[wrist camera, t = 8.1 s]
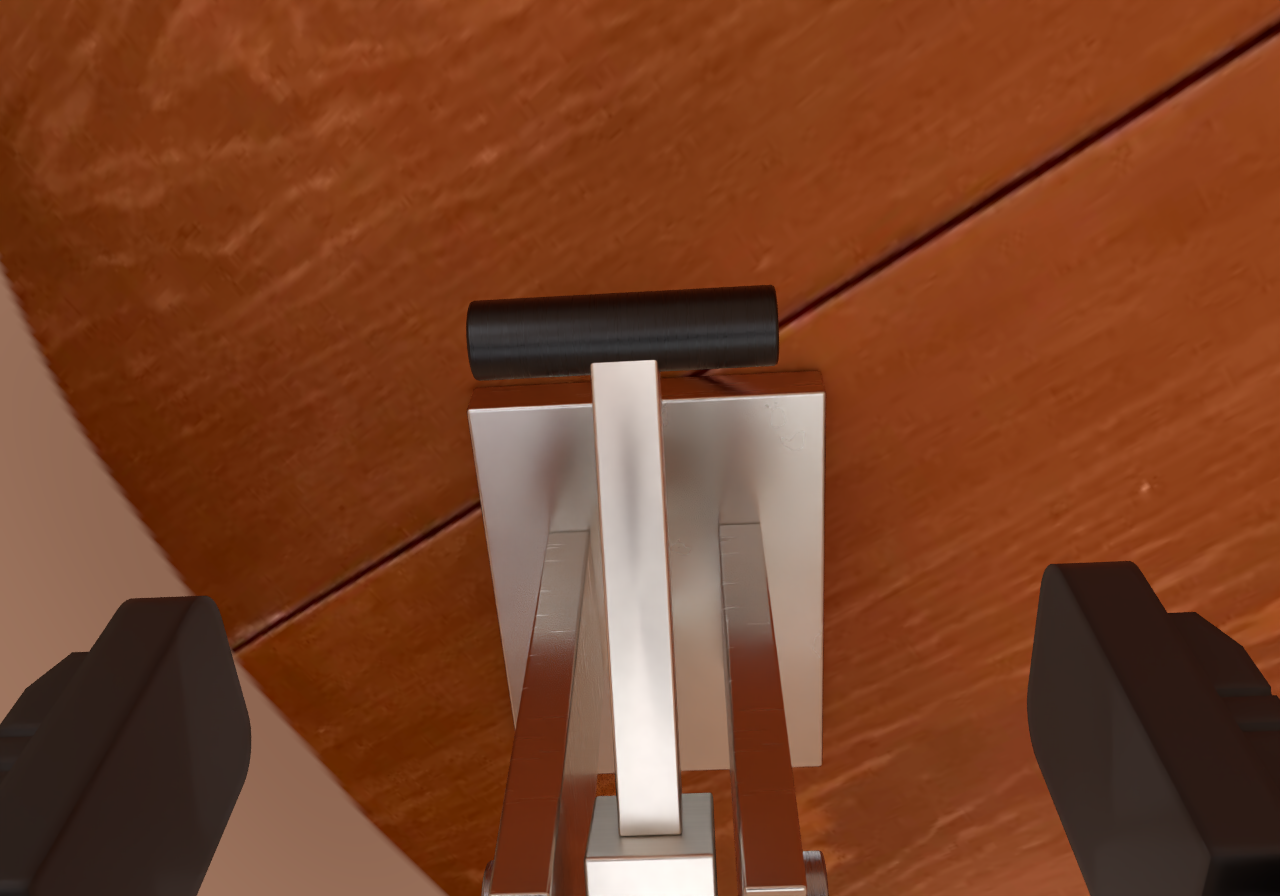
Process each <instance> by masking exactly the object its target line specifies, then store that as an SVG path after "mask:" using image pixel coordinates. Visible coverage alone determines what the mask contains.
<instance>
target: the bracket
mask: <svg viewBox="0 0 1280 896" xmlns="http://www.w3.org/2000/svg"><path fill="white" fill-rule="evenodd" d="M660 381H661V400H662V420H663V439H664V458H665V477H666V497H667V516H668V535H669V554H670V574H671V593H672V612H673V631H674V651H675V670H676V689H677V708H678V728H679V747H680V766H681V771H701V770H730V777H731V793H732V809H733V824H734V840H735V856H736V872H737V887H738V896H829V893H828V881H827V872H826V865H825V860H824V856H823V853H822V852H821V851H802V843H801V835H800V827H799V819H798V812H797V804H796V796H795V788H794V780H793V772H792V767H819V766H821V765H822V761H823V665H824V569H825V473H826V391H825V387H824V383H823V379H822V376H821V373H820V371H798V372H778V373H759V374H739V375H719V376H699V377H679V378H660ZM467 417H468V424H469V431H470V437H471V444H472V451H473V457H474V464H475V470H476V477H477V484H478V490H479V497H480V503H481V510H482V517H483V523H484V530H485V537H486V543H487V550H488V556H489V563H490V570H491V576H492V583H493V589H494V596H495V603H496V609H497V616H498V623H499V629H500V636H501V642H502V649H503V656H504V662H505V669H506V675H507V682H508V689H509V695H510V702H511V709H512V715H513V722H514V728H515V736H514V742H513V748H512V754H511V760H510V766H509V772H508V778H507V784H506V790H505V796H504V802H503V808H502V814H501V820H500V826H499V832H498V838H497V844H496V850H495V856H494V860H493V861H490V862H488V864H487V866H486V869H485V872H484V877H483V884H482V896H586V889H585V874H584V856H585V850H586V845H587V839H588V834H589V828H590V823H591V817H592V811H593V806H594V800H595V797H596V784H597V774H612V773H615V767H614V751H613V734H612V718H611V701H610V685H609V668H608V652H607V635H606V619H605V602H604V586H603V570H602V553H601V537H600V520H599V504H598V487H597V471H596V454H595V438H594V421H593V405H592V389H591V382H580V383H560V384H540V385H520V386H500V387H480V388H475V389H474V390H473V393H472V396H471V399H470V402H469V405H468V408H467Z"/></svg>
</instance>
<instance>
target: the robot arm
mask: <svg viewBox="0 0 1280 896" xmlns="http://www.w3.org/2000/svg"><path fill="white" fill-rule="evenodd" d="M1027 712H1028V723H1029V731H1030V737H1031V742H1032V746H1033V750H1034V753H1035V756H1036V759H1037V762H1038V764H1039V767H1040V769H1041V772H1042V774H1043V777H1044V779H1045V782H1046V784H1047V787H1048V789H1049V792H1050V794H1051V797H1052V799H1053V802H1054V804H1055V807H1056V810H1057V812H1058V815H1059V817H1060V820H1061V822H1062V825H1063V827H1064V830H1065V832H1066V835H1067V837H1068V840H1069V842H1070V845H1071V847H1072V850H1073V852H1074V855H1075V857H1076V860H1077V862H1078V865H1079V867H1080V870H1081V872H1082V875H1083V877H1084V880H1085V882H1086V885H1087V888H1088V890H1089V893H1090V895H1091V896H1280V699H1279V698H1278V697H1277V695H1273V696H1272V694H1271V686H1270V685H1269V684H1268V682H1267V681H1266V679H1265V678H1264V676H1263V675H1262V674H1261V672H1260V671H1259V669H1258V668H1257V666H1256V665H1255V664H1254V662H1253V661H1252V659H1251V658H1250V656H1249V655H1248V653H1247V652H1246V651H1245V649H1244V648H1243V646H1241V645H1240V644H1239V643H1237V642H1236V641H1235V640H1233V639H1232V638H1230V637H1229V636H1228V635H1226V634H1225V633H1223V632H1222V631H1221V630H1219V629H1218V628H1217V627H1215V626H1214V625H1212V624H1211V623H1210V622H1208V621H1207V620H1206V619H1204V618H1203V617H1201V616H1200V615H1199V614H1197V613H1196V612H1183V613H1167V612H1166V610H1165V608H1164V607H1163V605H1162V604H1161V602H1160V601H1159V599H1158V597H1157V596H1156V594H1155V593H1154V591H1153V589H1152V588H1151V586H1150V585H1149V583H1148V582H1147V580H1146V578H1145V577H1144V575H1143V574H1142V572H1141V571H1140V569H1139V568H1138V566H1137V565H1135V564H1134V563H1133V562H1131V561H1118V562H1093V563H1068V564H1050V565H1049V566H1048V567H1047V568H1046V569H1045V572H1044V574H1043V578H1042V582H1041V588H1040V596H1039V604H1038V612H1037V620H1036V628H1035V636H1034V644H1033V652H1032V659H1031V667H1030V675H1029V683H1028V693H1027ZM250 754H251V727H250V720H249V716H248V711H247V708H246V704H245V700H244V697H243V693H242V690H241V686H240V683H239V679H238V675H237V672H236V668H235V665H234V661H233V657H232V654H231V650H230V647H229V643H228V639H227V636H226V632H225V629H224V625H223V621H222V618H221V615H220V612H219V609H218V607H217V605H216V604H215V602H214V601H213V600H212V599H211V598H210V597H208V596H185V597H160V598H135V599H129V600H126V601H125V602H124V603H123V604H122V605H121V606H120V607H119V608H118V610H117V611H116V613H115V614H114V616H113V617H112V619H111V620H110V622H109V623H108V625H107V626H106V628H105V629H104V631H103V632H102V634H101V635H100V637H99V638H98V640H97V641H96V643H95V644H94V645H93V647H92V648H91V650H90V652H72V653H71V654H70V655H68V656H67V657H66V658H65V659H63V660H62V661H61V662H60V663H58V664H57V665H56V666H54V667H53V668H52V669H50V670H49V671H48V672H47V673H46V674H44V675H43V676H41V677H40V678H39V679H38V680H36V681H35V682H34V683H33V684H31V685H30V686H29V687H27V688H26V689H25V691H24V692H23V693H22V695H21V696H20V698H19V699H18V700H17V702H16V703H15V705H14V706H13V707H12V709H11V710H10V712H9V713H8V714H7V716H6V717H5V719H4V720H3V721H2V723H1V724H0V896H196V895H197V893H198V891H199V888H200V886H201V884H202V882H203V879H204V877H205V875H206V872H207V870H208V867H209V865H210V863H211V860H212V858H213V855H214V853H215V851H216V848H217V846H218V844H219V841H220V839H221V837H222V834H223V832H224V829H225V827H226V825H227V822H228V820H229V817H230V815H231V813H232V811H233V808H234V806H235V804H236V801H237V799H238V796H239V794H240V792H241V789H242V787H243V784H244V782H245V779H246V776H247V772H248V767H249V762H250Z"/></svg>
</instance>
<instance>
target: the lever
mask: <svg viewBox="0 0 1280 896" xmlns="http://www.w3.org/2000/svg"><path fill="white" fill-rule="evenodd" d="M466 337H467V350H468V358H469V363H470V367H471V371H472V373H473V376H474V378H475V379H476V380H479V381H481V380H501V379H521V378H540V377H560V376H580V375H591V389H592V405H593V421H594V438H595V454H596V471H597V487H598V504H599V520H600V537H601V553H602V570H603V586H604V602H605V619H606V635H607V652H608V668H609V685H610V701H611V718H612V734H613V751H614V767H615V783H616V796H599V797H596V798H595V800H594V806H593V811H592V817H591V823H590V828H589V834H588V839H587V845H586V850H585V856H584V874H585V889H586V896H718V891H717V870H716V849H715V828H714V807H713V796H712V794H711V793H690V794H682V786H681V766H680V747H679V728H678V708H677V689H676V670H675V651H674V631H673V612H672V593H671V574H670V554H669V535H668V516H667V497H666V477H665V458H664V439H663V420H662V400H661V381H660V371H679V370H699V369H718V368H738V367H758V366H775V365H777V363H778V358H779V324H778V307H777V297H776V291H775V288H774V286H773V285H758V286H739V287H721V288H702V289H684V290H665V291H647V292H628V293H610V294H591V295H573V296H554V297H536V298H517V299H499V300H480V301H473V302H471V303H470V305H469V308H468V312H467V322H466Z"/></svg>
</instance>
